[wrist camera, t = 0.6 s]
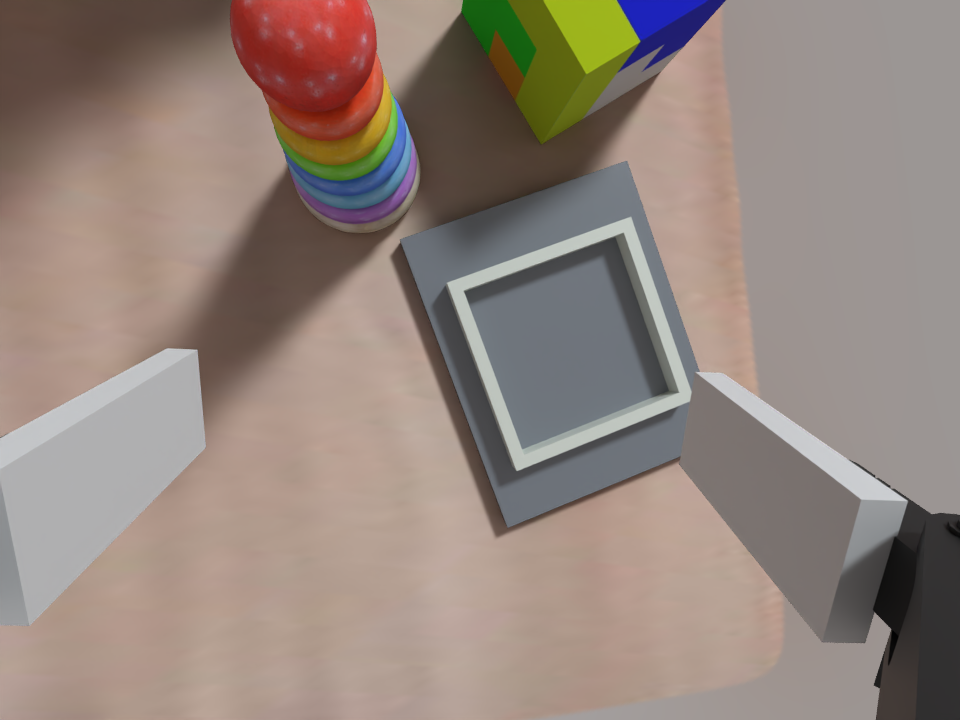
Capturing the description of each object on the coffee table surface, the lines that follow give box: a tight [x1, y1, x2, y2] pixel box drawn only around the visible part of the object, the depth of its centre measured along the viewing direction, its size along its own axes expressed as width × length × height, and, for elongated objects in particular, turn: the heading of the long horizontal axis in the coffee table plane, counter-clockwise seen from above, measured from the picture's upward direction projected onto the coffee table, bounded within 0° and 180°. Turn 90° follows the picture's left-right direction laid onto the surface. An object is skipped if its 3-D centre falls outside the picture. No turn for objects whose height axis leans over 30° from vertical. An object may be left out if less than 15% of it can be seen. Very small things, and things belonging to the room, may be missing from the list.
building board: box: [400, 161, 700, 528], centre depth 38 cm, size 20×16×2 cm
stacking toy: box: [230, 0, 420, 233], centre depth 28 cm, size 8×8×19 cm
